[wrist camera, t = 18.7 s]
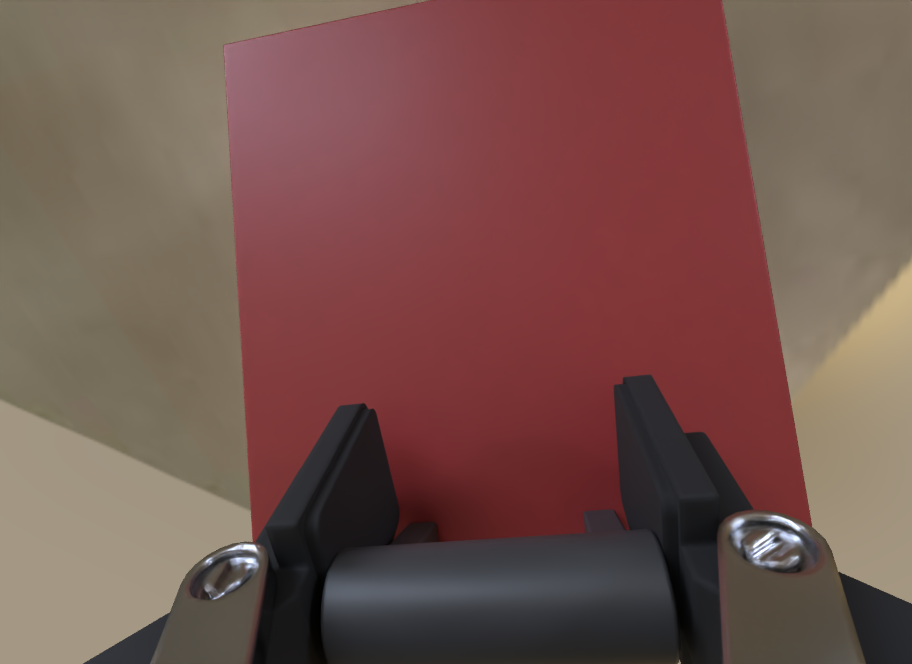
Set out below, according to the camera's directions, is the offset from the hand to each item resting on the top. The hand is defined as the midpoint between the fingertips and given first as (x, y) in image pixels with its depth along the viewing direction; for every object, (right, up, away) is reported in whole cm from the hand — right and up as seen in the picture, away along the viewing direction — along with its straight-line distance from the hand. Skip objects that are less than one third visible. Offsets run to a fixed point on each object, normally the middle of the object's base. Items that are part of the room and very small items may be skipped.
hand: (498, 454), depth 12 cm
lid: (0, +3, +2) cm, 4 cm away
